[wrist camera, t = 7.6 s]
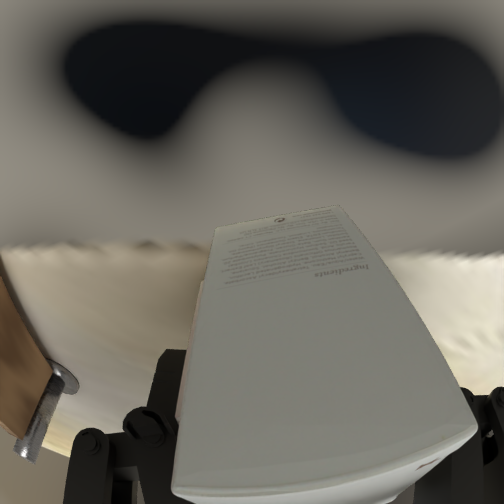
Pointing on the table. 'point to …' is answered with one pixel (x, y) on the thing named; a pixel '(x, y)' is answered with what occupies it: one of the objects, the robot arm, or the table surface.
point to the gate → (18, 370)
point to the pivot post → (45, 411)
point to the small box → (310, 372)
